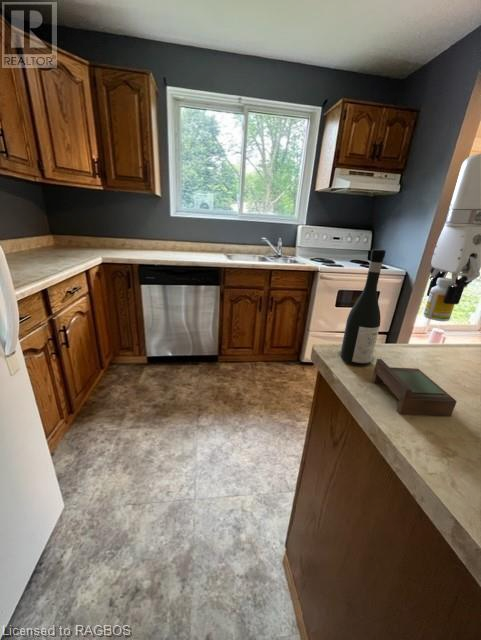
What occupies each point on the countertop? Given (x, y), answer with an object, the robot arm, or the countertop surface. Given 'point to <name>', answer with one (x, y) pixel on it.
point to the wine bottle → (364, 318)
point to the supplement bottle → (438, 302)
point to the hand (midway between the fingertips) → (441, 299)
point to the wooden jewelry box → (414, 391)
